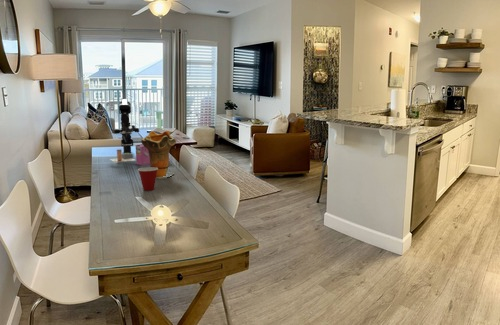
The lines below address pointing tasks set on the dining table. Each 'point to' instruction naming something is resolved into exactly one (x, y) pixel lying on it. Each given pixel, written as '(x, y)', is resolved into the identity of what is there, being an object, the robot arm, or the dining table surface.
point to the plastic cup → (148, 177)
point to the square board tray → (124, 158)
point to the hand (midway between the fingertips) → (126, 142)
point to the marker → (119, 154)
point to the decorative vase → (159, 151)
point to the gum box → (142, 155)
